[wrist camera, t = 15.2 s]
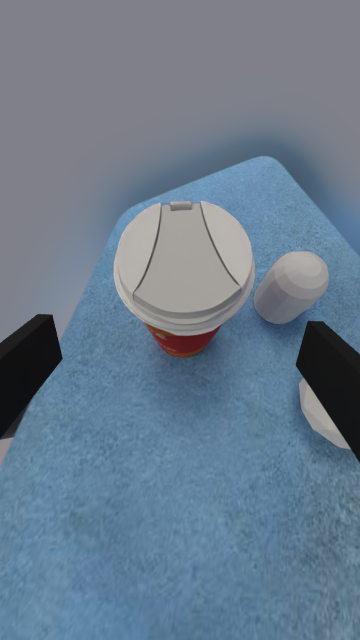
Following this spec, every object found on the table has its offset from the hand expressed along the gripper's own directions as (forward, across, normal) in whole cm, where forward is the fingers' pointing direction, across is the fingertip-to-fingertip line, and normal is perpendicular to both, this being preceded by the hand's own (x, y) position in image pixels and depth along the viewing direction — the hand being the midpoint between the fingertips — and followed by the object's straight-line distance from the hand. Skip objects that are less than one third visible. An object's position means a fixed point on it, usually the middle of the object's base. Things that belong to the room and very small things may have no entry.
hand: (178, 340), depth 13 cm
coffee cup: (+13, 0, -6) cm, 14 cm away
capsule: (+15, +11, -4) cm, 19 cm away
